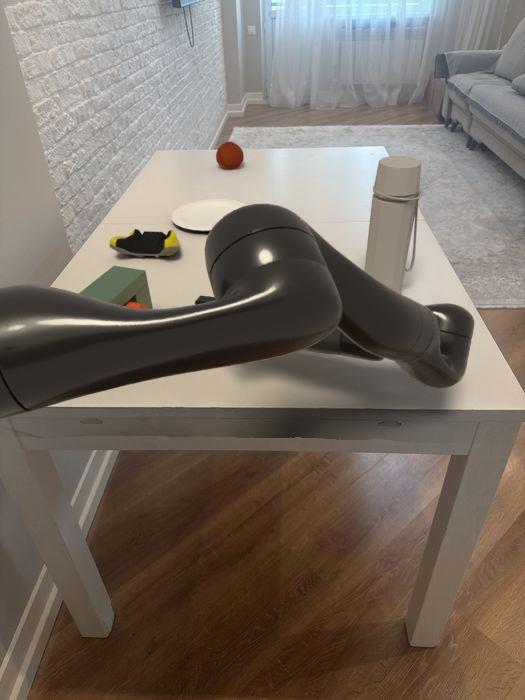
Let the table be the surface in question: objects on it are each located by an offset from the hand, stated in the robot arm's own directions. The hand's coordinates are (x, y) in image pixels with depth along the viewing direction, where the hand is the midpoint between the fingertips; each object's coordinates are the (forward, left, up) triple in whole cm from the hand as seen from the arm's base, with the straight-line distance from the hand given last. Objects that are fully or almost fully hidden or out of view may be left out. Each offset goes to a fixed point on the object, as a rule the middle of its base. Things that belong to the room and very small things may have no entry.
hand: (197, 304), depth 71 cm
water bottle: (+37, -6, -12) cm, 40 cm away
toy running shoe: (+13, +41, -12) cm, 45 cm away
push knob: (-6, +10, -6) cm, 13 cm away
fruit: (+64, +79, -12) cm, 103 cm away
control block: (-8, +13, -11) cm, 19 cm away
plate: (+35, +48, -12) cm, 61 cm away
